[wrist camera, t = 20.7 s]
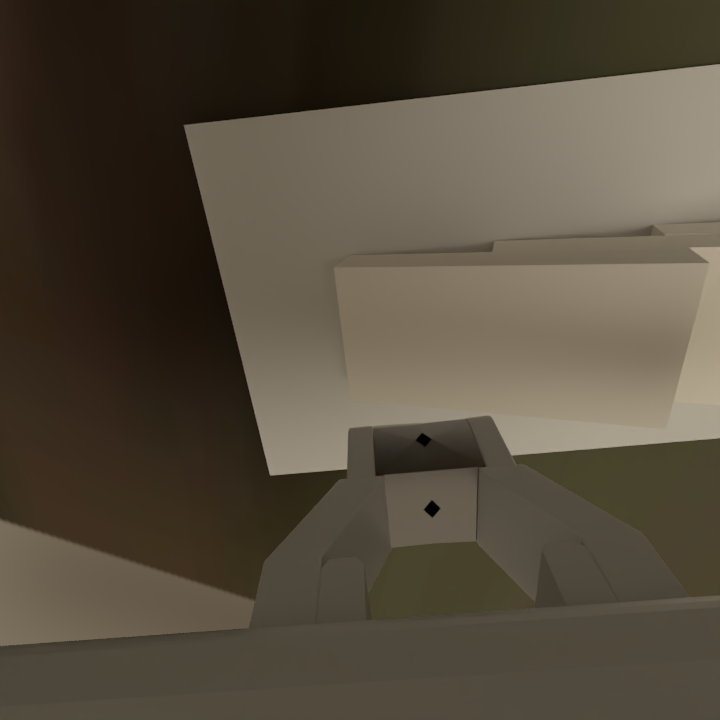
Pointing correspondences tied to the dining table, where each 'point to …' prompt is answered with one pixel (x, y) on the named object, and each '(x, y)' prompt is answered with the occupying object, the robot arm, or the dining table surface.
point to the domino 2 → (714, 315)
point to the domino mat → (438, 226)
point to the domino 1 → (522, 331)
